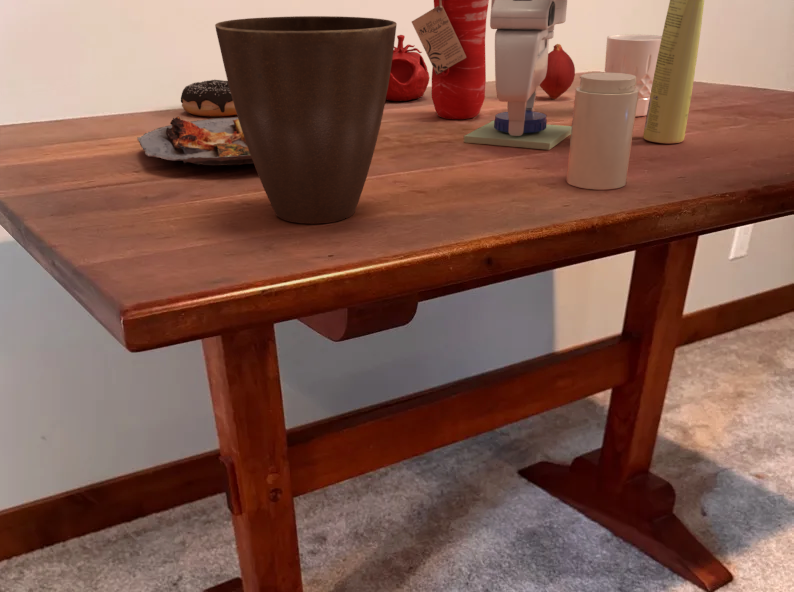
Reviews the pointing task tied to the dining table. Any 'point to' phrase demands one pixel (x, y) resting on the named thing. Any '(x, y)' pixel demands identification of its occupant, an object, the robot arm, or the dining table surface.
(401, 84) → the red tomato holder
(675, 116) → the tube
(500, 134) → the mat
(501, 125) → the jar lid
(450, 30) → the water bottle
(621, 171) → the white jar
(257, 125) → the flower pot
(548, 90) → the onion
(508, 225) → the dining table surface
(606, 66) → the white cup
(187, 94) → the donut
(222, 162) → the food plate
